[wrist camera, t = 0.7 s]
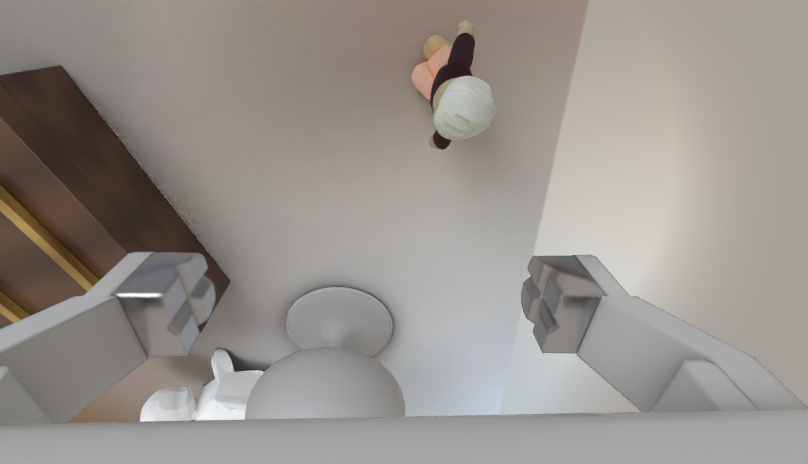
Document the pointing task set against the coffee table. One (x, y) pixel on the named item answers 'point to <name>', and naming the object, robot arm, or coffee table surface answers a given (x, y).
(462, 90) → the grandmother figurine
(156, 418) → the white low-poly sculpture
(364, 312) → the chalice
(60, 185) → the box with brass rails
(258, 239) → the coffee table surface
